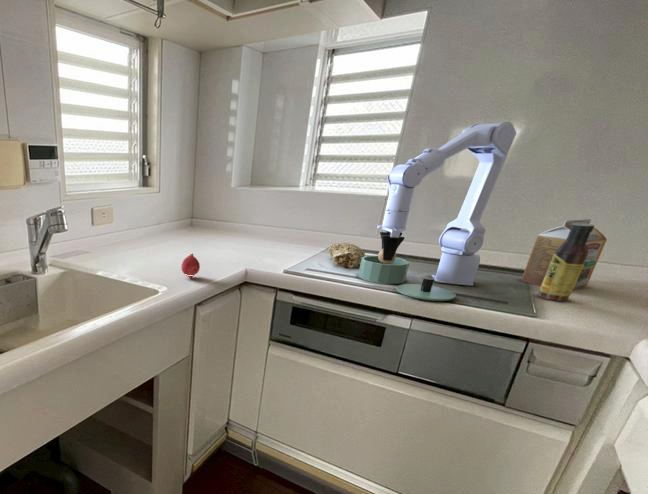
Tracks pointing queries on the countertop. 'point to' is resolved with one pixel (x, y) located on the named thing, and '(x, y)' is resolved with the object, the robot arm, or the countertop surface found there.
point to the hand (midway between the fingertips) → (386, 258)
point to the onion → (190, 265)
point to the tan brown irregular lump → (346, 254)
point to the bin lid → (426, 291)
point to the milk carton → (549, 245)
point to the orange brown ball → (380, 257)
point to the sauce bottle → (566, 264)
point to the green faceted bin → (383, 270)
